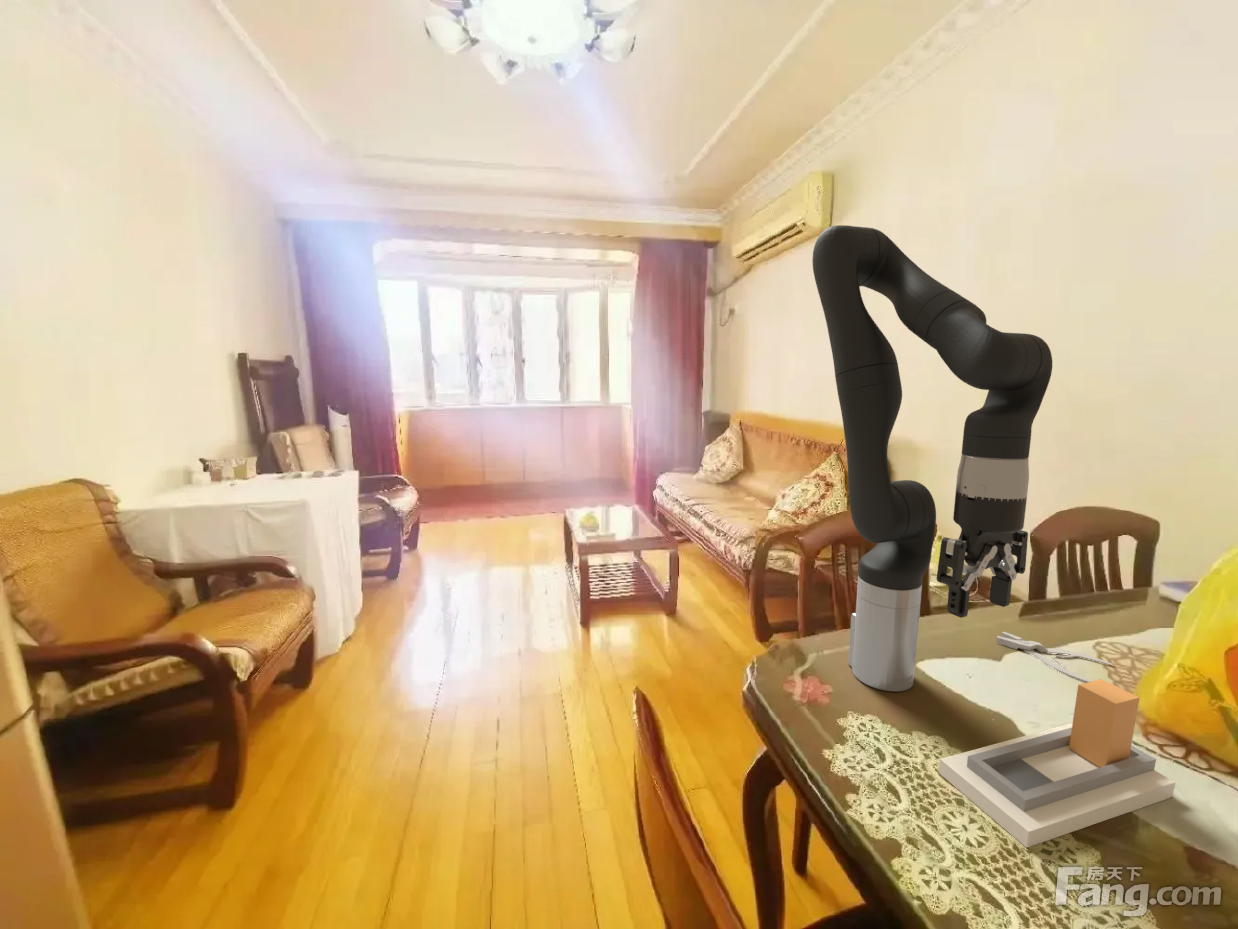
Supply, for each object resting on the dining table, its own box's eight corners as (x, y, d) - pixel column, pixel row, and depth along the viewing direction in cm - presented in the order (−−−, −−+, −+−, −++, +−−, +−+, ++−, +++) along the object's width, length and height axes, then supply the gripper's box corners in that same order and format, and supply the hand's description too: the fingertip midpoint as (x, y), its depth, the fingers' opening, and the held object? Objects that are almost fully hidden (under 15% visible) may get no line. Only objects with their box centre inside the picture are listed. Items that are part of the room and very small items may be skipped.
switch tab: (1068, 748, 67) (1078, 684, 65) (1091, 741, 68) (1101, 679, 66) (1104, 770, 63) (1115, 703, 61) (1128, 763, 64) (1139, 697, 62)
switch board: (938, 772, 66) (941, 748, 65) (1070, 735, 72) (1074, 713, 71) (1026, 847, 55) (1030, 819, 55) (1172, 796, 61) (1177, 771, 61)
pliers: (1099, 680, 82) (989, 642, 94) (1097, 689, 83) (988, 650, 94) (1114, 658, 88) (1009, 625, 100) (1112, 667, 88) (1008, 633, 100)
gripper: (995, 482, 73) (984, 591, 75) (925, 489, 68) (915, 607, 70) (1056, 491, 66) (1042, 612, 68) (984, 500, 61) (971, 631, 63)
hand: (978, 609), depth 69 cm, fingers open, 8 cm apart
